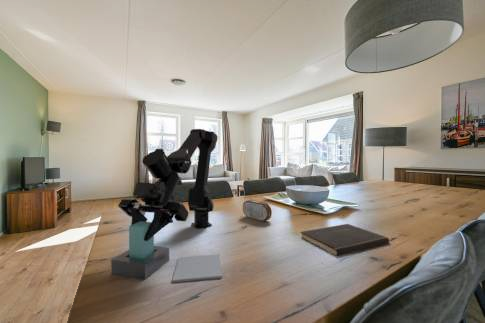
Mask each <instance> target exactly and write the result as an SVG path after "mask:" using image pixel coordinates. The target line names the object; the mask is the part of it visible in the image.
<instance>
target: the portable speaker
mask: <svg viewBox="0 0 485 323" xmlns="http://www.w3.org/2000/svg"><path fill="white" fill-rule="evenodd" d="M242 211H243V214H244V215H245V217H246V218H247V219H252V220H254V219H255V220H254V221H260V222H266V221H269V220H270V219H271V218H272V214H273V213H272V207H271V206H270V204H268V203H267V202H265V201H261V200H257V199H252V198H251V199H248V200H245V201H244V202H243V204H242Z"/></svg>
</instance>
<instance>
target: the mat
mask: <svg viewBox="0 0 485 323" xmlns="http://www.w3.org/2000/svg"><path fill="white" fill-rule="evenodd" d="M222 278H223V274H222V266H221V258H220V254H219V253H218V254H217V253H216V254H205V255H204V254H203V255H191V256H190V255H189V256H179V257H178V259H177V263H176V266H175V269H174V273H173V277H172V283H181V282H188V281H189V282H190V281H201V280H203V281H204V280H213V279H222Z"/></svg>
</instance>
